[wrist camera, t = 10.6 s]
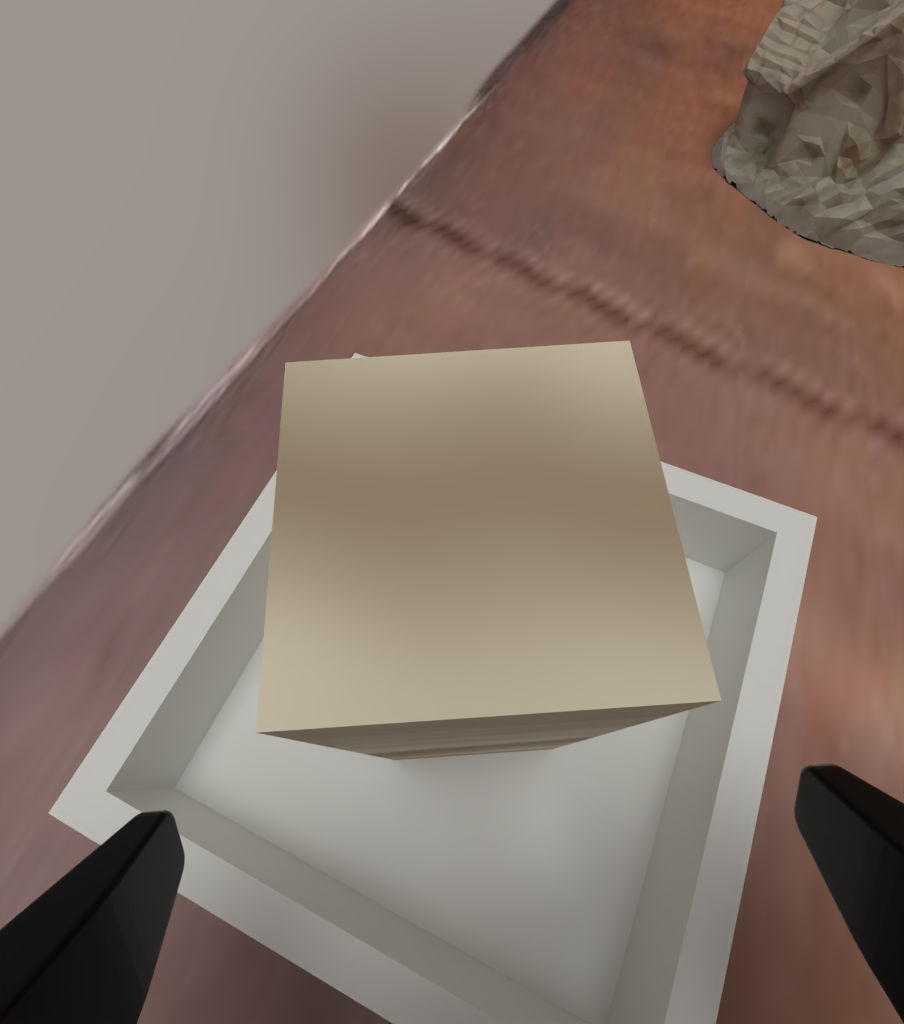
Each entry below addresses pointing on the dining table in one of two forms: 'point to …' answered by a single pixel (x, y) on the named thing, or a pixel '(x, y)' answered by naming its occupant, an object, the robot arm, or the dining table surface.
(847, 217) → the ceramic cottage
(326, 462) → the birch block
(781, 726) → the dining table surface
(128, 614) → the dining table surface
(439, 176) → the dining table surface
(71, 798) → the box
